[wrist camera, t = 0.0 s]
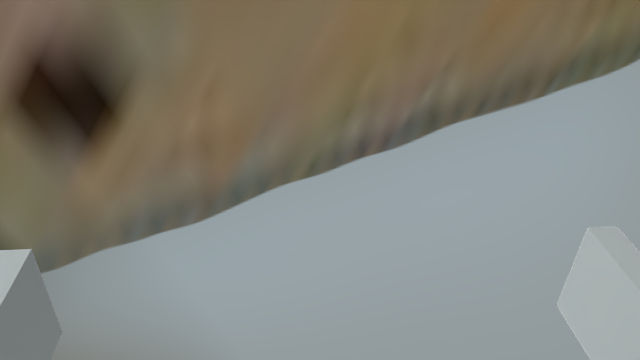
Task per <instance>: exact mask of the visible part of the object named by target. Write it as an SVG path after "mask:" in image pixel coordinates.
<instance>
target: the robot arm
mask: <svg viewBox="0 0 640 360" xmlns="http://www.w3.org/2000/svg"><path fill="white" fill-rule="evenodd" d="M557 307H558V309H559V310H560V312H561V313H562V315H563V317H564V318H565V320H566V322H567V323H568V325H569V326H570V328H571V330H572V331H573V333H574V334H575V336H576V338H577V339H578V341H579V342H580V344H581V346H582V347H583V349H584V351H585V352H586V354H587V355H588V357H589V359H590V360H640V252H639V250H638V249H637V248H636V247H635V246H634V245H633V244H632V243H631V241H630V240H629V239H628V238H627V237H626V236H625V235H624V234H623V233H622V231H621V230H620V229H619V228H618V227H617V226H610V227H588V228H587V230H586V233H585V235H584V238H583V240H582V243H581V245H580V248H579V250H578V253H577V255H576V258H575V260H574V263H573V265H572V268H571V270H570V273H569V275H568V278H567V280H566V282H565V285H564V287H563V290H562V293H561V295H560V297H559V300H558V303H557ZM61 333H62V330H61V327H60V325H59V322H58V319H57V317H56V314H55V311H54V309H53V306H52V303H51V301H50V298H49V295H48V292H47V290H46V287H45V284H44V282H43V279H42V276H41V274H40V271H39V268H38V265H37V263H36V260H35V257H34V255H33V252H32V249H22V250H0V360H51V358H52V355H53V353H54V350H55V348H56V345H57V343H58V340H59V338H60V335H61Z"/></svg>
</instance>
